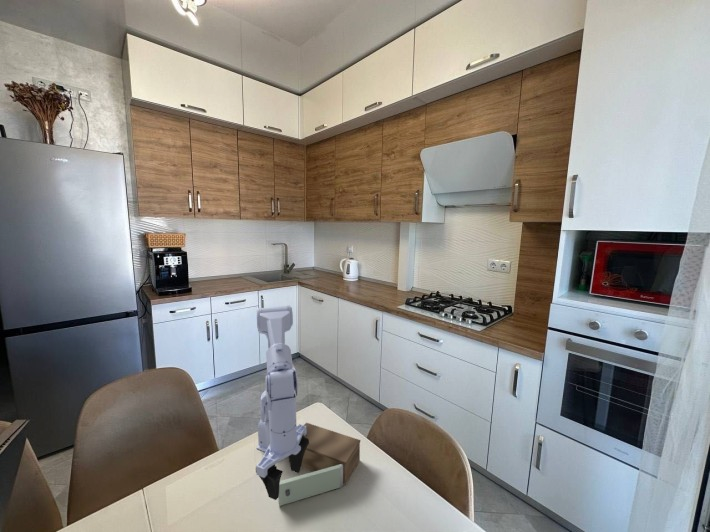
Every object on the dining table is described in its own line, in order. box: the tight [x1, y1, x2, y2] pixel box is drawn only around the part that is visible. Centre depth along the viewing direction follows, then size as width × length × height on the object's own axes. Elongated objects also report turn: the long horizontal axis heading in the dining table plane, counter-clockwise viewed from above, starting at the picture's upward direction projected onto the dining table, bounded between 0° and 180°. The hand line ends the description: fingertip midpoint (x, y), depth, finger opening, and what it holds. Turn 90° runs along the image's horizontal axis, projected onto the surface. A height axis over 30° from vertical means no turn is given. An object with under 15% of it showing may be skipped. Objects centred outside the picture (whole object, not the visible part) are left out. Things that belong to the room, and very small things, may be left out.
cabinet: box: [288, 422, 361, 486], centre depth 83 cm, size 18×9×6 cm, turn 65°
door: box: [277, 464, 344, 507], centre depth 72 cm, size 16×2×6 cm, turn 110°
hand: (285, 483), depth 65 cm, fingers open, 7 cm apart
